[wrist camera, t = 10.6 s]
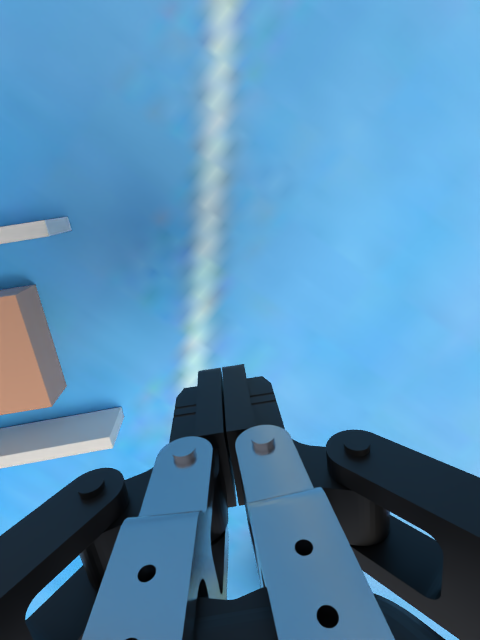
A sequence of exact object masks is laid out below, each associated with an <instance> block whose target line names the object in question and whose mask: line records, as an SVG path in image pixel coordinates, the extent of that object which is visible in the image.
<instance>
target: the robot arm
mask: <svg viewBox="0 0 480 640" xmlns="http://www.w3.org/2000/svg"><path fill="white" fill-rule="evenodd" d="M222 372H223V378H222ZM222 372H221V368H216V369H209V370H202V371H199V372H198V385H197V386H196V387H189V388H184V389H183V390H182V392H181V393H180V394H179V395H178V397H177V398H176V404H175V410H174V418H173V423H172V429H171V435H170V441H169V444H167V445H166V446H165V447H163V448H162V449H161V450H160V452H159V453H158V455H157V458H156V461H155V464H154V467H153V468H152V469H150V470H148V471H146V472H144V473H142V474H139V475H137V476H134V477H132V478H129V479H127V480H124V478H123V475H122V474H121V472H120V471H118V470H116V469H113V468H100V469H95V470H92V471H89V472H87V473H85V474H83V475H81V476H79V477H78V478H76V479H75V480H74V481H72V482H71V483H70V484H68V485H67V486H66V487H64V488H63V489H62V490H60V491H59V492H58V493H56V494H55V495H54V496H52V497H51V498H50V499H48V500H47V501H46V502H44V503H43V504H42V505H41V506H39V507H38V508H37V509H35V510H34V511H33V512H31V513H30V514H29V515H27V516H26V517H25V518H23V519H22V520H21V521H19V522H18V523H17V524H15V525H14V526H13V527H11V528H10V529H9V530H8V531H6V532H5V533H4V534H2V535H1V536H0V640H445V639H444V638H443V637H441V636H440V635H439V634H437V633H436V632H435V631H434V630H432V629H431V628H430V627H428V626H427V625H426V624H424V623H423V622H422V621H421V620H419V619H418V618H417V617H415V616H414V615H413V614H411V613H410V612H408V611H407V610H405V609H404V608H402V607H401V606H399V605H397V604H396V603H394V602H392V601H390V600H388V599H386V598H384V597H382V596H379V595H376V594H374V593H373V592H372V590H371V588H370V586H369V584H368V582H367V580H366V578H365V576H364V574H363V571H364V572H366V573H367V574H368V575H370V576H371V577H373V578H374V579H375V580H377V581H378V582H380V583H381V584H382V585H384V586H385V587H387V588H388V589H389V590H391V591H392V592H394V593H395V594H396V595H398V596H399V597H401V598H402V599H403V600H405V601H406V602H408V603H409V604H410V605H412V606H413V607H415V608H416V609H417V610H419V611H420V612H422V613H423V614H424V615H426V616H427V617H429V618H430V619H432V620H433V621H434V622H436V623H437V624H439V625H440V626H441V627H443V628H444V629H446V630H447V631H448V632H450V633H451V634H453V635H454V636H455V637H457V638H458V639H460V640H480V478H479V477H477V476H474V475H472V474H470V473H467V472H465V471H462V470H460V469H458V468H455V467H453V466H450V465H448V464H446V463H443V462H441V461H438V460H436V459H434V458H431V457H429V456H426V455H424V454H422V453H419V452H417V451H414V450H412V449H409V448H407V447H405V446H402V445H400V444H397V443H395V442H393V441H390V440H388V439H385V438H383V437H381V436H378V435H376V434H373V433H371V432H368V431H363V430H346V431H342V432H339V433H337V434H335V435H333V436H332V437H331V438H330V439H329V440H328V442H327V444H326V447H320V446H309V445H305V444H301V443H299V442H297V441H295V440H293V439H292V438H291V436H290V434H289V433H288V432H287V431H286V430H285V428H284V425H283V422H282V418H281V415H280V412H279V408H278V405H277V402H276V398H275V395H274V392H273V389H272V385H271V383H270V382H269V381H268V380H266V379H265V378H264V377H262V376H260V377H254V378H246V373H245V368H244V364H241V365H235V366H228V367H222ZM234 479H235V481H234ZM235 485H236V491H237V497H238V503H239V505H245V508H246V514H247V520H248V526H249V532H250V537H251V542H252V547H253V552H254V557H255V562H256V567H257V572H258V577H259V582H260V587H261V588H260V589H258V590H256V591H254V592H251V593H249V594H247V595H245V596H242V597H240V598H238V599H234V600H227V573H228V545H229V532H228V527H227V524H228V507H234V506H236V494H235ZM390 512H392V513H394V514H395V515H397V516H399V517H401V518H403V519H404V520H406V521H408V522H410V523H412V524H413V525H415V526H417V527H419V528H421V529H422V530H424V531H426V532H427V533H429V534H430V535H431V536H432V537H433V538H434V539H435V540H434V539H432V538H430V537H429V536H427V535H425V534H423V533H421V532H420V531H418V530H416V529H414V528H413V527H411V526H409V525H407V524H405V523H404V522H402V521H400V520H398V519H397V518H395V517H393V516H391V515H390ZM78 555H80V558H81V560H82V563H83V566H82V567H81V568H80V569H79V570H78V571H77V572H76V573H75V574H73V575H72V576H71V577H70V578H69V579H68V580H67V581H66V582H65V583H64V584H63V585H62V586H61V587H60V588H59V589H58V590H57V591H56V592H55V593H54V594H53V595H52V596H51V597H50V598H49V599H48V600H47V601H46V602H45V603H43V604H42V605H41V606H40V607H39V608H38V609H37V610H36V611H35V612H34V613H33V614H32V615H31V616H30V617H29V618H28V619H27V620H25V615H26V611H27V609H28V606H29V605H30V603H31V601H32V600H33V598H34V597H35V596H36V595H37V594H38V593H39V592H40V591H41V590H42V589H43V588H44V587H45V586H46V585H47V584H48V583H49V582H51V581H52V580H53V579H54V578H55V577H56V576H57V575H58V574H59V573H60V572H61V571H62V570H63V569H64V568H66V567H67V566H68V565H69V564H70V563H71V562H72V561H73V560H74V559H75V558H76V557H77V556H78ZM362 570H363V571H362Z"/></svg>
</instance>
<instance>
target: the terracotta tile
mask: <svg viewBox="0 0 480 640" xmlns="http://www.w3.org/2000/svg"><path fill="white" fill-rule="evenodd" d="M66 386H67V385H66V382H65V379H64V376H63V372H62V369H61V366H60V363H59V359H58V356H57V353H56V350H55V346H54V343H53V340H52V337H51V333H50V330H49V327H48V324H47V320H46V317H45V314H44V311H43V307H42V304H41V301H40V298H39V294H38V291H37V288H36V285H28V286H22V287H15V288H8V289H2V290H0V415H3V414H10V413H16V412H22V411H28V410H34V409H40V408H46V407H52V406H53V404H54V403H55V401H56V400H57V399H58V397H59V396H60V395H61V393H62V392H63V390H64V389H65V388H66Z"/></svg>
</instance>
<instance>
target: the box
mask: <svg viewBox="0 0 480 640" xmlns="http://www.w3.org/2000/svg"><path fill="white" fill-rule="evenodd" d="M68 231H72V230H71V226H70V222H69V219H68V217H62V218H55V219H48V220H42V221H35V222H29V223H22V224H16V225H10V226H3V227H0V244H3V243H10V242H16V241H22V240H29V239H35V238H41V237H47V236H52V235H56V234H60V233H64V232H68ZM123 419H124V415H123V411H122V408H121V407H118V408H112V409H107V410H101V411H95V412H90V413H84V414H78V415H73V416H67V417H62V418H56V419H50V420H45V421H39V422H33V423H28V424H22V425H17V426H11V427H5V428H0V468H5V467H11V466H16V465H22V464H27V463H33V462H38V461H44V460H49V459H55V458H60V457H66V456H71V455H77V454H83V453H88V452H94V451H99V450H105V449H110V448H113V446H114V444H115V441H116V438H117V435H118V432H119V430H120V427H121V424H122V421H123Z"/></svg>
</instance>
